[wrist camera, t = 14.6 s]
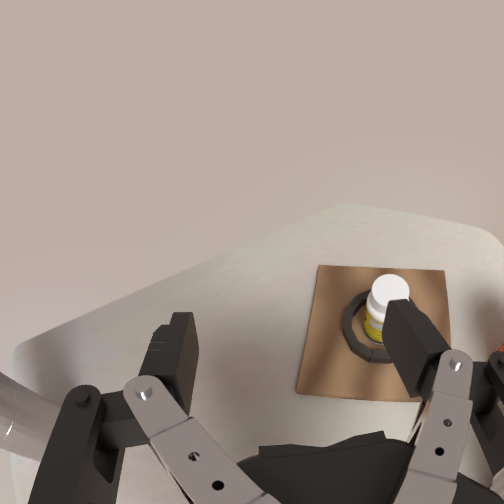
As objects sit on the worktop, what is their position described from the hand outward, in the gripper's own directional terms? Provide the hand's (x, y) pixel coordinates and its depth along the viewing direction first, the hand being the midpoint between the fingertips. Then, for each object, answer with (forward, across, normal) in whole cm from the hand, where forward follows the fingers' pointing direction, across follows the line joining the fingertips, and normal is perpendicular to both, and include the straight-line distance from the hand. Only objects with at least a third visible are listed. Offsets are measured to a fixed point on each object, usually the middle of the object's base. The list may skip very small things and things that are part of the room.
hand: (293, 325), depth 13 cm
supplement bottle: (+18, -14, +16) cm, 28 cm away
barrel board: (+19, -14, +16) cm, 28 cm away
